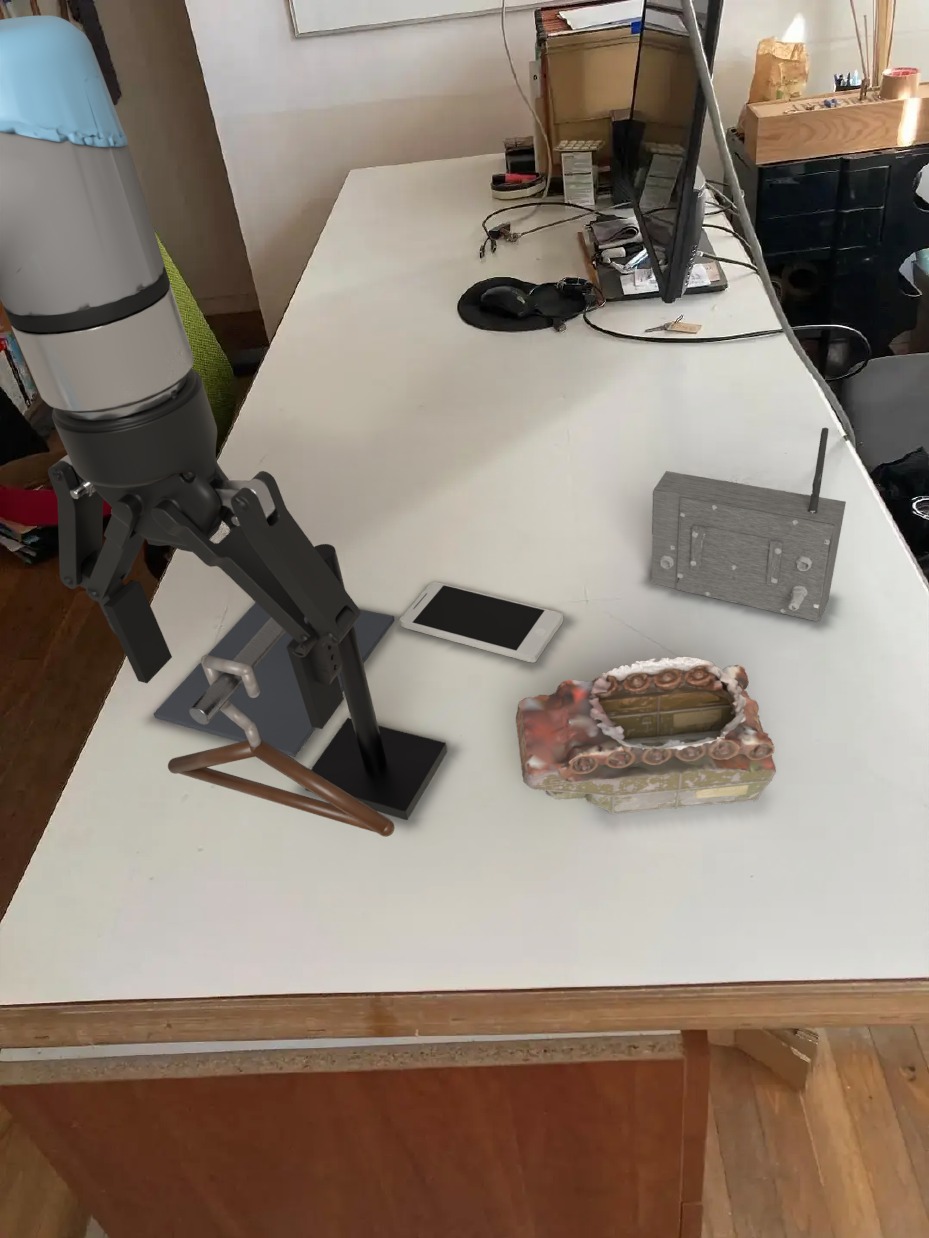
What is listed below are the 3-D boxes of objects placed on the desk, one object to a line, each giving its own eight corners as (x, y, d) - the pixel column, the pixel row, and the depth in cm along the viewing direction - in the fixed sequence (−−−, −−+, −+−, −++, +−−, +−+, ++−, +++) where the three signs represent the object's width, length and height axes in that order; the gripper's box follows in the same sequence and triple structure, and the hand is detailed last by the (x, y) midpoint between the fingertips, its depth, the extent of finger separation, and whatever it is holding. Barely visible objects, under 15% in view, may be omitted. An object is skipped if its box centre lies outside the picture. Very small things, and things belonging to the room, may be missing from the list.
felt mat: (155, 718, 90) (152, 713, 89) (268, 594, 103) (266, 590, 103) (294, 757, 84) (292, 752, 83) (395, 620, 97) (394, 616, 97)
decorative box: (783, 864, 70) (799, 779, 63) (517, 865, 72) (507, 783, 66) (755, 735, 80) (765, 651, 73) (521, 740, 82) (513, 659, 76)
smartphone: (534, 664, 89) (534, 656, 89) (399, 626, 96) (397, 619, 95) (564, 619, 94) (564, 612, 93) (433, 587, 101) (432, 580, 100)
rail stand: (350, 726, 86) (292, 512, 71) (447, 751, 82) (408, 530, 67) (228, 899, 73) (126, 680, 58) (338, 938, 69) (259, 716, 54)
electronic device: (829, 598, 92) (861, 416, 80) (812, 639, 88) (844, 454, 75) (660, 561, 100) (665, 390, 87) (637, 598, 95) (639, 424, 83)
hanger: (167, 774, 70) (102, 639, 61) (177, 763, 71) (114, 628, 62) (390, 842, 63) (351, 699, 54) (398, 828, 63) (361, 685, 55)
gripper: (376, 371, 44) (436, 690, 58) (-1, 339, 54) (126, 619, 67) (293, 450, 39) (380, 779, 53) (-107, 398, 49) (54, 689, 62)
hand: (238, 690), depth 60 cm, fingers open, 13 cm apart
